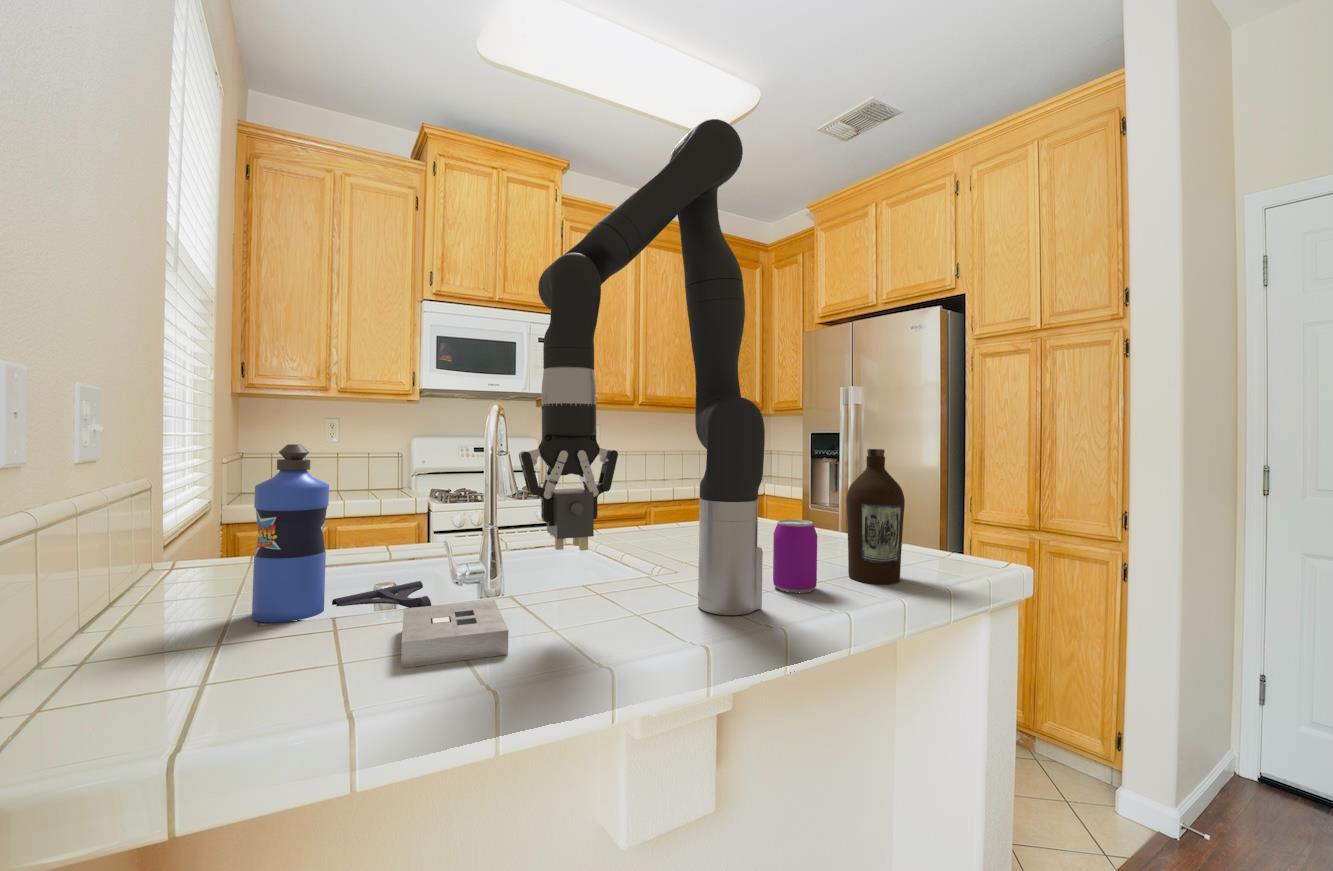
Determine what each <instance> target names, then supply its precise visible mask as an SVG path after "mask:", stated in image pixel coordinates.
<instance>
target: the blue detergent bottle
mask: <svg viewBox="0 0 1333 871" xmlns="http://www.w3.org/2000/svg"><path fill="white" fill-rule="evenodd" d="M278 453H279V454H280V455H281V456H282V459H281V458H280V459H279V458H278V459H276V470H279V471H278V472H277V473H276V474H275V475H274V476H273V477H271V478H269V479H267V480H265V481H262V482H261V483H258V484H255V485H254V501H253V502H254V505H253V507H254V508H255V515H256V527H257V533H258V534H257V535H258V536H257V541H256V547H255V551H254V556H253V570H252V572H253V573H252V574H253V575H252V576H253V577H252V596H251V597H252V600H251V619H252V621H255V622H258V623H259V622H260V623H274V624H275V623H286V622H294V621H301V620H306V619H309V618H313V617H316V616H318V615H320V614H322V613H323V612H324V611H325V596H326V595H325V593H326V591H325V590H326V557H327V556H326V555H327V553H326V552H327V551H326V546H325V545H326V544H325V537H324V528H325V523H326V522H325V521H326V517H327V509H328V506H329V501H330V496H329V494H330V484H329V483H327V482H325V481H322V480H320V479H318V478H316V477H314V476H313V475H312V474H311V473H310V472H309V470H311V459H308V458H307V459H305V458H306V456H307V455H309V454H310V452H309V450H308V449H306V447H305V446H304V445H303V444H286V445H285V446H284V447H283V448H282V449H280V450H279V451H278Z"/></svg>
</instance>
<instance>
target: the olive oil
mask: <svg viewBox="0 0 1333 871" xmlns="http://www.w3.org/2000/svg"><path fill="white" fill-rule="evenodd" d="M866 450H867V451H866V453H867V456H865V457H866V468H865V469H864V471H863V472H862V473H860V474H859V476H857V478H855V479H854V481H853V482H852V483H851V484H850V485H849V487H848V491H847V494H846V502H845V503H846V519H847V520H846V523H847V524H846V526H847V527H846V528H847V551H848V552H847V553H848V556H847V558H848V560H847V561H848V564H847V565H848V569H847V570H848V577H849V578H850V579H851V580H854V581H857V580H858V581H857V582H860V581H861V583H865V582H867V583H866V584H872V583H875V584H874V585H892V583H893V584H897V583H899V582H900V580H901V567H902V566H901V564H902V547H903V532H904V531H903V529H904V528H903V527H904V518H905V506H906V505H905V495H904V492H903V489H902V486H900V484H899V483H898V482H897V481H896V480H895V478H893V476H892V475H891V474H890V473H889V472H888V470H886V468H885V466H886V457H885V449H884V448H867V449H866Z"/></svg>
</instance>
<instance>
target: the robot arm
mask: <svg viewBox="0 0 1333 871" xmlns="http://www.w3.org/2000/svg"><path fill="white" fill-rule="evenodd" d="M743 149H744V148H743V143H742V140H741V136H740V135H739V134H738V132H737V130H736V129H735V128H734V127H733V126H732V125H731V124H729V123H728V122H726V121H725V120H721V119H719V118H717V119H715V118H711V119H706V120H704V121H702V122H700V123H697V125H695V126H694V127H692V128H691V130H689V131H688V132H687V133H686V134H685V135H684V136H683V137H682V138H681V140H680V141H679V142H677V144H676V145H675V146H674V148H673V149H672V151H671V153H670V155H669V156H670V157H669V161H668V163H667V164H666V165H665V166H664V167H663V168H661V169H660V171H659V172H658V173H656V174H655V175H654V176H653V177H652V178H650V179H649V180H648V181H647V182H646V183H644V184H643V185H642V186H641V187H640V188H638V189H637V190H636V191H634V192H633V193H632V194H630V195H629V196H628V197H627V198H625V199H624V200H623V201H621V202H620V203H619V204H618V205H617V206H615V207H614V208H613V209H611V211H610V212H608V213H607V214H606V216H604V217H602V219H601V220H600V221H599V222H597V223H596V224H595V225H594V226H593V227H592V228H591V229H590V230H589V231H588V232H587V233H586V235H585V236H584V237H583V238H582V240H581V241H579V242H578V243H577V244H575V245H573V247H572V248H570V249H569V250H568V251H567V252H565V253H564V254H562V255H561V256H559V257H558V258H556V259H555V260H554V261H553V262H552V263H551V264H549V265H548V267H547V268H545V270H543V272H542V274H541V275H540V277H539V280H538V281H539V282H538V286H537V287H538V288H537V289H538V295H539V298H540V300H541V302H542V304H544V306H545V307H546V308H548V309H549V310H550V318H549V319H550V320H549V325H548V327H547V330H546V331H545V334H544V338H543V347H542V348H543V349H542V350H543V354H542V355H543V356H542V357H543V358H542V359H543V372H542V381H541V441H540V444H539V446H538V448H535V449H531V450H527V451H525V450H522V451H521V452H519V453H518V458H519V462H520V465H521V469H522V470H521V471H522V475H523V477H524V482H525V486H526V490H527V492H528V493H530V495H534V496H537V497H540V502H541V503H540V505H541V506H540V508H541V511H540V513H541V516H540V517H541V520H542V521H543V522H544V523H545V525H546V527H547V526H553V525H554V499H552V495H553V492H554V489H556V486H557V485H558V483H559V481H560V478H561V476H568V475H571V474H572V475H576V476H578V477H579V480H580V481H581V484H582V485H583V489H585V490H588V491H591V492H593V497H594V520H596V519H597V517H598V514H599V513H598V499H599V498H598V497H599V496H600V494H603V493H605V492H609V491H610V490H611V487H612V484H613V479H614V474H615V470H616V465H617V461H618V458H619V452H618V450H616V449H605V448H601V447H600V445H599V443H598V441H597V401H598V394H597V384H596V383H597V382H596V381H597V380H596V376H595V340H594V339H595V332H596V329H597V324H598V318H599V311H600V306H601V298H602V285H603V284H604V283H605V282H606V281H607V280H609V278H611V277H612V276H613V275H615V274H617V273H619V271H622V270H623V269H624V268H626V267H627V265H629V264H630V263H631V262H632V261H633V260H634V259H635V258H636V257H637V256H638V255H640V254H641V252H642V251H643V250H645V248H646V247H648V246H649V244H651V243H652V242H653V241H654V240H655V239H656V237H657V236H658V235H659V234H660V233H661V232H662V231H664V229H665V228H666V227H667V226H668V225H669V224H670V223H671V222H672V221H673V220H674V219H675V218H676V217H677V219H678V226H679V234H680V246H681V256H682V264H683V271H684V272H683V273H684V274H683V276H684V291H685V301H686V310H687V317H688V326H689V334H690V344H691V350H692V357H693V362H694V363H693V366H694V372H695V373H694V374H695V376H694V377H695V413H694V414H695V416H694V418H695V419H694V420H695V432H696V435H697V438H698V440H699V442H700V443H701V445H702V446H703V447H704V449H706V464H705V472H704V476H703V478H702V479H701V480H700V482H699V506H698V507H699V513H698V516H699V520H698V521H699V522H698V526H699V527H698V528H699V529H698V576H697V578H698V584H697V585H698V586H697V607H698V608H699V609H700V610H702V611H704V612H707V613H709V614H715V615H720V616H722V615H723V616H741V615H747V614H751V613H753V612H754V611H756V610H762V608H763V606H762V605H763V554H764V553H763V552H764V551H763V549H762V547H760V546H758V533H759V532H758V527H759V526H758V524H759V520H758V518H759V516H758V515H759V514H758V513H759V511H758V509H759V508H758V507H759V500H758V499H759V488H760V486H761V483H762V480H763V475H764V461H765V440H766V436H765V434H766V432H765V431H766V430H765V421H764V417H763V414H762V412H761V410H760V408H759V407H758V406H757V405H756V403H755V402H753V401H751V400H750V399H748V398H745V397H742V394H741V387H740V379H739V358H740V350H741V345H742V341H743V334H744V328H745V319H746V302H745V299H746V298H745V291H744V280H743V279H744V278H743V273H742V269H741V266H740V264H739V261H738V259H737V257H736V255H735V253H734V251H733V250H732V248H731V246H730V245H729V243H728V241H727V240H726V237H725V236H724V234H723V232H722V229H721V224H720V219H719V217H720V216H719V208H718V191H719V190H718V188H719V187H721V186H722V185H724V184H725V183H727V182H728V181H729V180H730V179H731V178H733V176H734V175H735V174H736V172H737V171H738V169H739V167H740V166H741V163H742V160H743V155H744V153H743ZM598 456H599V462H600V463H601V465H602V466H601V469H600V473H599V478H598V482H596V481H595V476H594V473H593V470H592V468H591V466H592V464H593V463H594V462H595V460H596V458H597V457H598ZM539 457H541V459H542V460H543V461H544V463H545V464H546V465H547V470H546V473H545V476H544V480H543V484H542V485H541V486H539V483H538V478H537V475H536V470H535V467H534V466H536V465H537V464H538V458H539Z"/></svg>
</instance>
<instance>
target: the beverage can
mask: <svg viewBox="0 0 1333 871" xmlns="http://www.w3.org/2000/svg"><path fill="white" fill-rule="evenodd" d="M772 547H773V550H772V551H773V552H772V554H773V558H772V562H773V563H772V581H773V582H772V584H773V586H774V587H775V588H776V589H777V588H778V589H777V590H779V589H780V590H779V591H781V590H783V591H782V592H784V591H788V592H797V593H796V594H804V593H803V592H808V593H810V592H809V591H811V592H812V591H813V590H814V589H816V587H817V582H818V580H817V579H818V578H817V576H818V572H817V571H818V534H817V531H816V528H815V524H814V522H813V521H811V520H806V519H795V518H792V519H789V518H788V519H787V518H786V519H779V520H778V521H777V523H776V526H775V529H774V531H773V546H772ZM788 592H787V593H788ZM799 592H800V593H799Z"/></svg>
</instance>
